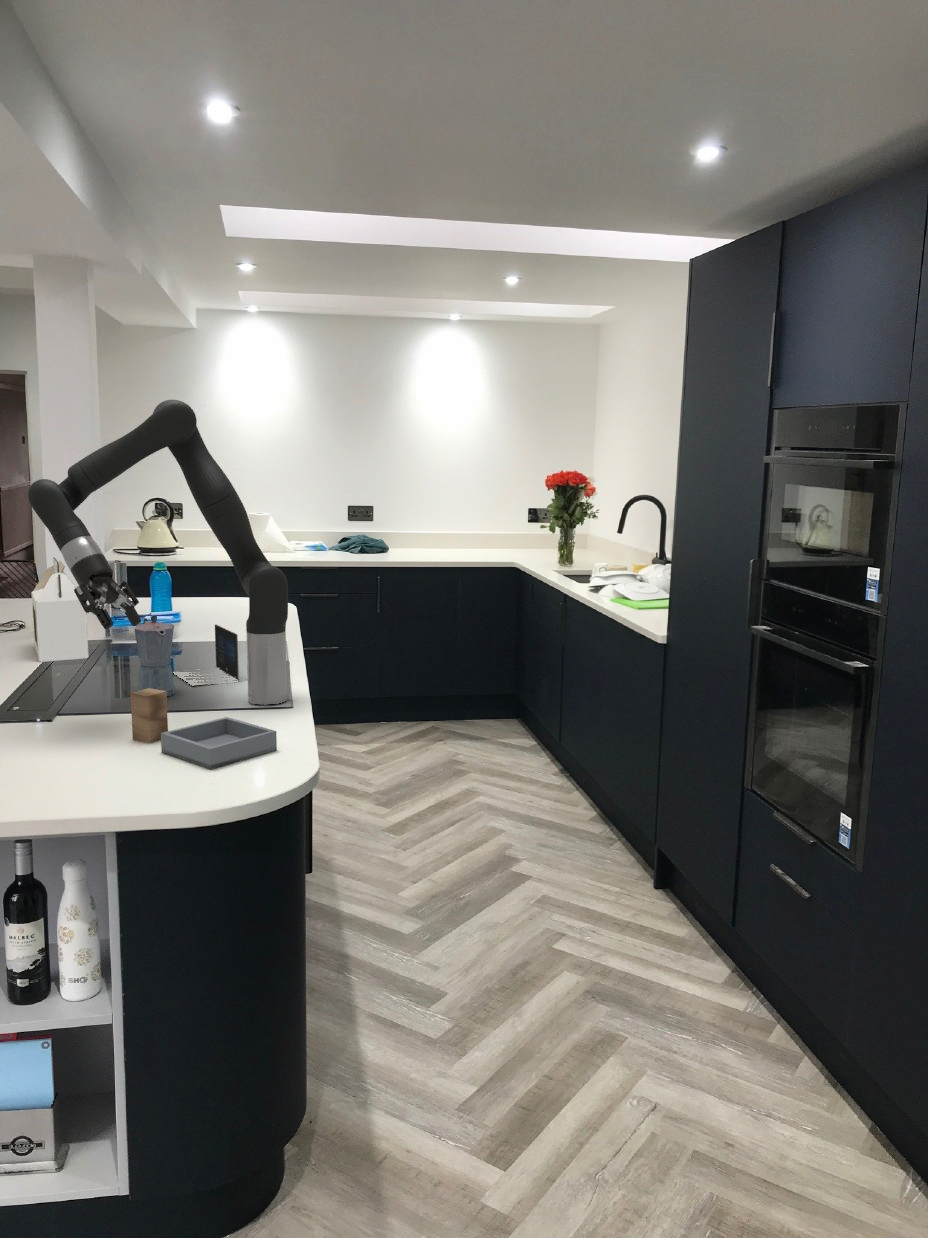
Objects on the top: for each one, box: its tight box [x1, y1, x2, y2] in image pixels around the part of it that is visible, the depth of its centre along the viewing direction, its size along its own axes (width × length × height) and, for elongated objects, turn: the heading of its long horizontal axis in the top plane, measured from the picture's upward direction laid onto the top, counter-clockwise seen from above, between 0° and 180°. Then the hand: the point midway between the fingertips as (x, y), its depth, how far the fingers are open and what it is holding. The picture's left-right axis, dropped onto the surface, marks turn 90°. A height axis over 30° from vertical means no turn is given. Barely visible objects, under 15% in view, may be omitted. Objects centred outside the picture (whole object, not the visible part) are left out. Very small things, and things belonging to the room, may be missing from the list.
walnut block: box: [130, 688, 169, 744], centre depth 197 cm, size 5×5×10 cm
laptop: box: [172, 624, 240, 687], centre depth 252 cm, size 18×12×13 cm
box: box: [160, 716, 278, 770], centre depth 189 cm, size 16×16×4 cm
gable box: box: [31, 557, 89, 663], centre depth 279 cm, size 22×13×28 cm, turn 27°
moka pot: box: [134, 615, 176, 697], centre depth 233 cm, size 10×15×20 cm, turn 39°
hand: (123, 625), depth 200 cm, fingers open, 8 cm apart
